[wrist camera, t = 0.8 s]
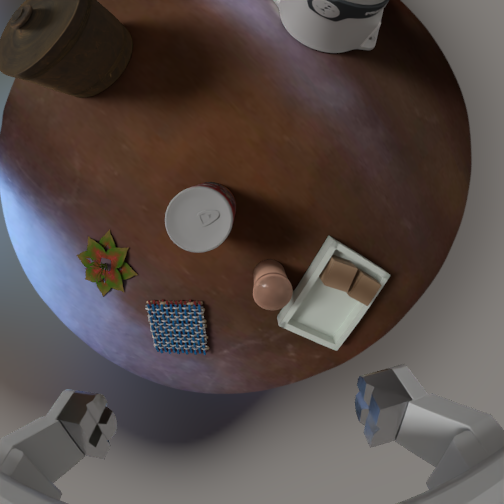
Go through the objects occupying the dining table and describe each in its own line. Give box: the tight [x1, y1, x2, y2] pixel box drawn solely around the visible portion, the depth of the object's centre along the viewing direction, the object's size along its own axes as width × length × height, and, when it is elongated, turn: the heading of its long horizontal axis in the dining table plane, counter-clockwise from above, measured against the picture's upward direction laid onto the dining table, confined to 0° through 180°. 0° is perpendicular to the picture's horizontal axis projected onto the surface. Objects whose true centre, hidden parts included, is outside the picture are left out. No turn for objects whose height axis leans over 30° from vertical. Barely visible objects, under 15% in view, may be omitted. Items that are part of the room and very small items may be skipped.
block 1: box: [319, 255, 358, 292], centre depth 43 cm, size 4×4×4 cm
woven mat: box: [146, 300, 209, 355], centre depth 48 cm, size 10×11×2 cm
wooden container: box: [0, 0, 133, 97], centre depth 24 cm, size 15×15×22 cm
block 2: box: [346, 267, 382, 306], centre depth 44 cm, size 4×4×4 cm
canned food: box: [165, 182, 236, 252], centre depth 37 cm, size 8×8×11 cm
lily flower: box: [77, 229, 138, 296], centre depth 43 cm, size 12×12×5 cm
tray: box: [277, 236, 390, 351], centre depth 45 cm, size 16×12×3 cm
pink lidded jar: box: [253, 259, 293, 310], centre depth 42 cm, size 5×5×7 cm
